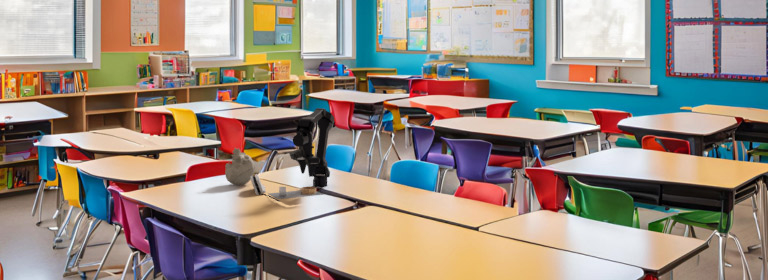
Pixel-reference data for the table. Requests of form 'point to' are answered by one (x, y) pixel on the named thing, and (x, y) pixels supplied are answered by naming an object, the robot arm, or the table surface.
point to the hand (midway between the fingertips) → (306, 175)
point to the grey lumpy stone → (239, 168)
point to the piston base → (290, 194)
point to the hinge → (257, 184)
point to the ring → (308, 190)
